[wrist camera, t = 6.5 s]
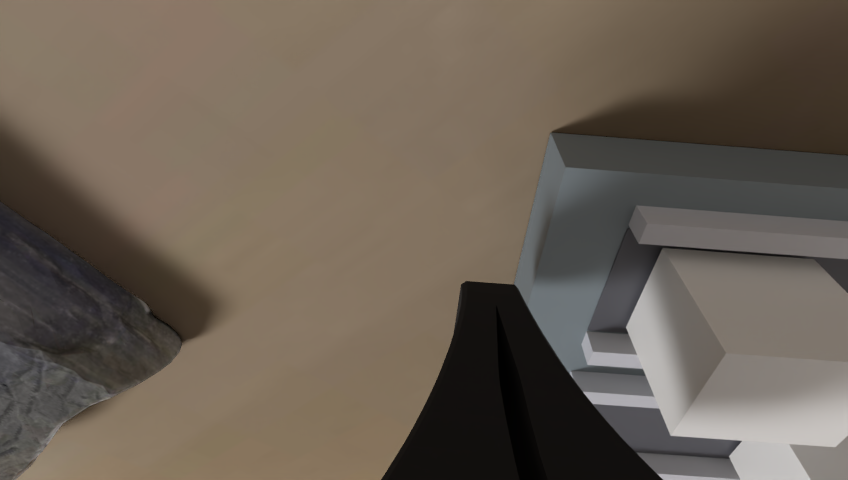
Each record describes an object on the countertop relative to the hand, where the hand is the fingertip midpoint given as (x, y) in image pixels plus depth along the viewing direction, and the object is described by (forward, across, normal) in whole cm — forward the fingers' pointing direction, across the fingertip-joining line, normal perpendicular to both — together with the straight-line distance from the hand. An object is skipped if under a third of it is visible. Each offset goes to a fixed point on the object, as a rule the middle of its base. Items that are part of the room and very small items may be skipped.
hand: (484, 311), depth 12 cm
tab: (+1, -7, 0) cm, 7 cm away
